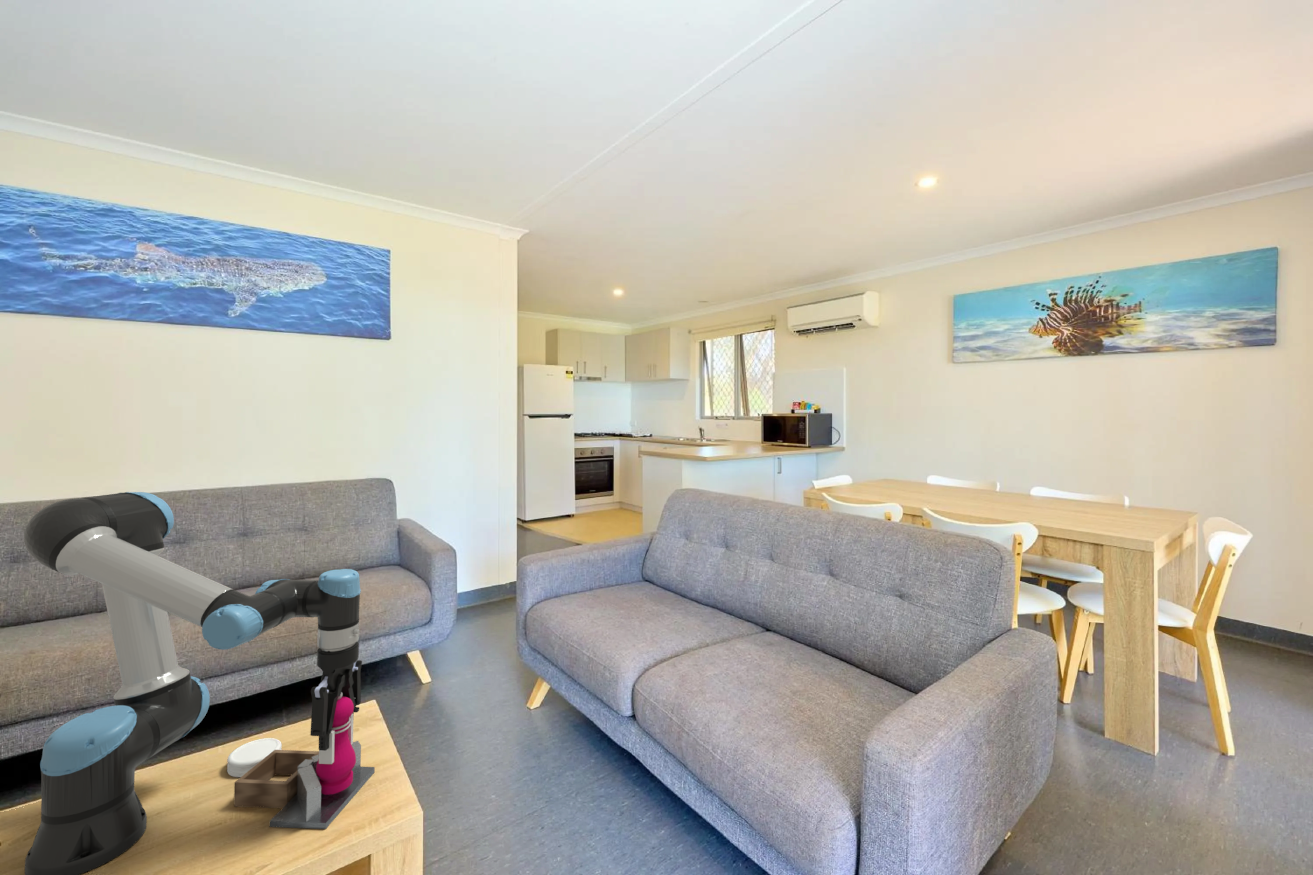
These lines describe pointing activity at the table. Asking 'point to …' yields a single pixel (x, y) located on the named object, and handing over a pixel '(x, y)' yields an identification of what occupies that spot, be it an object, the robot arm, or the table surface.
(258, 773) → the wooden square frame
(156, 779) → the table surface
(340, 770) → the pepper mill
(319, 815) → the v block
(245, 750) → the coaster
